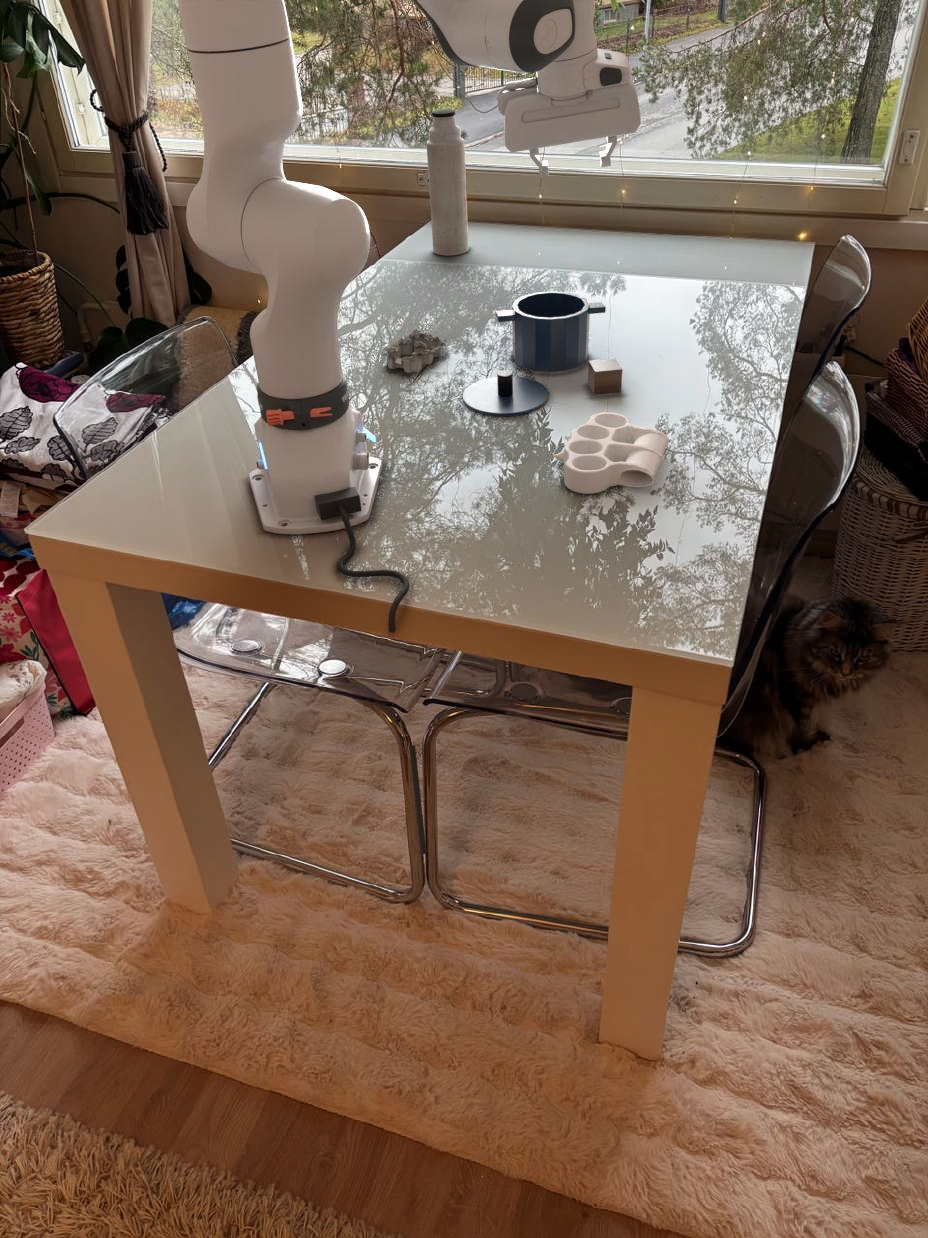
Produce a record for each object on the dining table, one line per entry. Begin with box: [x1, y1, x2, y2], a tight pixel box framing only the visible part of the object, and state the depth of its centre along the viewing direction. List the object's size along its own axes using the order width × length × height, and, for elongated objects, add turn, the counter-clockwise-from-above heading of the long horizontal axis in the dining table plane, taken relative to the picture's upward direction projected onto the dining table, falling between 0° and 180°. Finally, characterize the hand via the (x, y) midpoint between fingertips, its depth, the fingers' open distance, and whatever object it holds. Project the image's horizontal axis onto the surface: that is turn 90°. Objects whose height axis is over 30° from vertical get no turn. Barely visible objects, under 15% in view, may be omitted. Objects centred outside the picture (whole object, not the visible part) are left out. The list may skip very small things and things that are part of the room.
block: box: [587, 358, 623, 396], centre depth 148 cm, size 4×4×4 cm
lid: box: [462, 369, 549, 417], centre depth 147 cm, size 14×14×5 cm
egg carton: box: [381, 329, 448, 374], centre depth 160 cm, size 11×8×4 cm
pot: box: [495, 290, 607, 373], centre depth 157 cm, size 13×18×10 cm
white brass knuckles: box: [552, 411, 670, 495], centre depth 130 cm, size 3×18×15 cm
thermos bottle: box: [425, 108, 470, 256], centre depth 200 cm, size 8×8×28 cm
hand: (574, 170), depth 143 cm, fingers open, 8 cm apart
